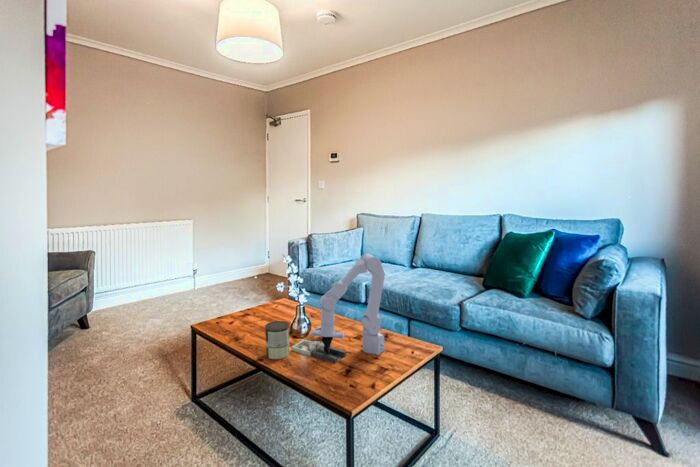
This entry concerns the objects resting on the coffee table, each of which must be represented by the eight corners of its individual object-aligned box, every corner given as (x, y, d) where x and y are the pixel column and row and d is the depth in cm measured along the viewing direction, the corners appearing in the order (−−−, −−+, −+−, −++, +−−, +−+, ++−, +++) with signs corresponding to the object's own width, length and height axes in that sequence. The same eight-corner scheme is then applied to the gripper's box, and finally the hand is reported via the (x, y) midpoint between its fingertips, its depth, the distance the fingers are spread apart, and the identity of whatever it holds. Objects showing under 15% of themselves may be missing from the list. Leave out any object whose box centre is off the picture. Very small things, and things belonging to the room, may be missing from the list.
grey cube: (330, 352, 164) (329, 343, 163) (324, 355, 160) (323, 346, 160) (323, 350, 166) (323, 341, 166) (317, 353, 163) (317, 344, 163)
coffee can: (260, 356, 162) (260, 325, 160) (279, 348, 170) (278, 319, 168) (276, 363, 155) (275, 331, 154) (294, 355, 163) (294, 324, 162)
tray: (322, 349, 169) (322, 344, 168) (310, 357, 161) (310, 352, 161) (304, 344, 174) (304, 339, 174) (291, 351, 167) (291, 346, 166)
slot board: (346, 356, 162) (346, 351, 161) (334, 365, 154) (334, 359, 154) (322, 349, 169) (322, 344, 168) (310, 357, 161) (310, 351, 161)
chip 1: (322, 350, 166) (321, 341, 165) (316, 353, 162) (315, 344, 162) (316, 349, 168) (314, 340, 168) (309, 352, 165) (308, 343, 165)
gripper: (346, 321, 162) (346, 350, 163) (314, 318, 165) (314, 347, 167) (342, 326, 155) (342, 357, 156) (309, 323, 158) (309, 354, 160)
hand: (327, 352), depth 161 cm, fingers closed, pressing on grey cube
